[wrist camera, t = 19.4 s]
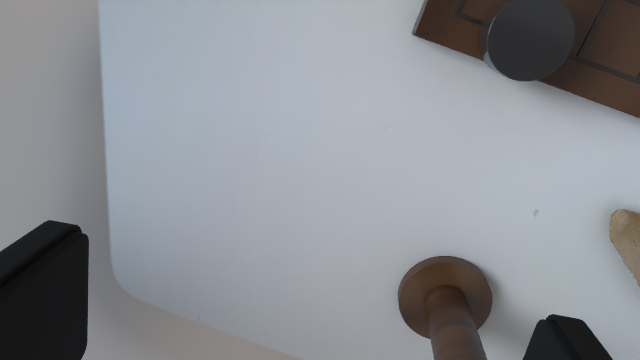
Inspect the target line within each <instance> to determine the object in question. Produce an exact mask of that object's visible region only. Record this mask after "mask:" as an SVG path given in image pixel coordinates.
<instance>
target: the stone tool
mask: <svg viewBox="0 0 640 360" xmlns="http://www.w3.org/2000/svg"><path fill="white" fill-rule="evenodd" d="M610 239H611V242H612V243H613V244H614V246H615V248H616V250H617V251H618V252H619V255H620V256H621V258H622V259H623V262H624V263H625V265H626V266H627V267H628V269H629V270H630V272H631V273H632V274H633V275H634V278H635V280H636V281H637V283H638V285H639V286H640V215H639V214H636V213H633V212H630V211H628V210H625V209H623V210H616V211H615V212H614V213H613V214H612V215H611V222H610Z"/></svg>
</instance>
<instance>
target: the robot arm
mask: <svg viewBox="0 0 640 360" xmlns="http://www.w3.org/2000/svg"><path fill="white" fill-rule="evenodd" d="M88 252H89V240H88V236H87V235H86V234H83V233H82V231H81V229H80V227H79V226H78V225H73V224H68V223H63V222H57V221H51V220H49V221H46V222H44V223H43V224H41V225H40V226H38V227H37V228H35V229H34V230H32V231H31V232H29V233H28V234H26V235H25V236H23V237H22V238H20V239H19V240H17V241H16V242H14V243H13V244H11V245H10V246H8V247H7V248H5V249H4V250H2V251H1V252H0V360H81V359H82V357H83V355H84V353H85V350H86V346H87V325H88V256H89V253H88ZM523 360H613V359H612V358H611V356H610V355H609V354H608V352H607V351H606V350H605V348H604V347H603V346H602V344H601V343H600V342H599V341H598V339H597V338H596V337H595V335H594V334H593V333H592V331H591V330H590V329H589V327H588V326H587V325H586V323H585V322H584V321H583V320H580V319H576V318H570V317H565V316H560V315H554V314H552V315H549V316H548V317H547V318H546V320H540V321H539V322H538V323H537V325H536V327H535V329H534V332H533V335H532V337H531V340H530V342H529V345H528V348H527V350H526V353H525V356H524V358H523Z"/></svg>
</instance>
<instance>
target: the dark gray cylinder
mask: <svg viewBox="0 0 640 360" xmlns="http://www.w3.org/2000/svg"><path fill="white" fill-rule="evenodd" d="M574 38H575V25H574V20H573V17H572V15H571V13H570V11H569V10H568V8H567V7H566V6H565V5H564V4H563V3H562V2H561V1H560V0H503V1H501V2H499V3H498V4H497V5H496V6H494V7H493V8H492V9H491V10H490V11H489V13H488V14H487V15H486V17H485V18H484V20H483V22H482V24H481V27H480V31H479V37H478V45H479V51H480V54H481V56H482V58H483V60H484V61H485V63H486V64H487V65H488V66H489V67H490V68H491V69H492V70H494V71H495V72H497V73H499V74H501V75H503V76H506V77H508V78H510V79H513V80H517V81H534V80H538V79H541V78H543V77H546V76H547V75H549V74H551V73H552V72H554V71H555V70H556V69H558V68H559V67H560V66H561V65H562V64H563V62H564V61H565V60H566V58H567V57H568V55H569V53H570V51H571V49H572V47H573V43H574Z"/></svg>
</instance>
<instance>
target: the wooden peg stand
mask: <svg viewBox="0 0 640 360" xmlns="http://www.w3.org/2000/svg"><path fill="white" fill-rule="evenodd" d="M398 301H399V309H400V313H401V315H402V317H403V319H404V321H405V322H406V324H407V325H408V326H409V327H410V328H411V329H412V330H413V331H415V332H416V333H418V334H419V335H421V336H423V337H426V338H429V339H431V344H432V349H433V355H434V360H487V357H486V354H485V352H484V349H483V346H482V343H481V340H480V337H479V334H478V331H477V330H478V329H479V328H480V327H481V326H482V325H483V324H484V322H485V321H486V320H487V318H488V316H489V314H490V311H491V308H492V294H491V290H490V287H489V285H488V283H487V280H486V278H485V277H484V275H483V274H482V272H481V271H480V270H479V269H478V268H477V267H476V266H474V265H473V264H471V263H470V262H468V261H466V260H463V259H460V258H456V257H451V256H439V257H433V258H429V259H426V260H424V261H422V262H420V263H418V264H416V265H415V266H414V267H412V268H411V269H410V270H409V271H408V272H407V273H406V275H405V276H404V278H403V279H402V281H401V284H400V287H399V291H398Z"/></svg>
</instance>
